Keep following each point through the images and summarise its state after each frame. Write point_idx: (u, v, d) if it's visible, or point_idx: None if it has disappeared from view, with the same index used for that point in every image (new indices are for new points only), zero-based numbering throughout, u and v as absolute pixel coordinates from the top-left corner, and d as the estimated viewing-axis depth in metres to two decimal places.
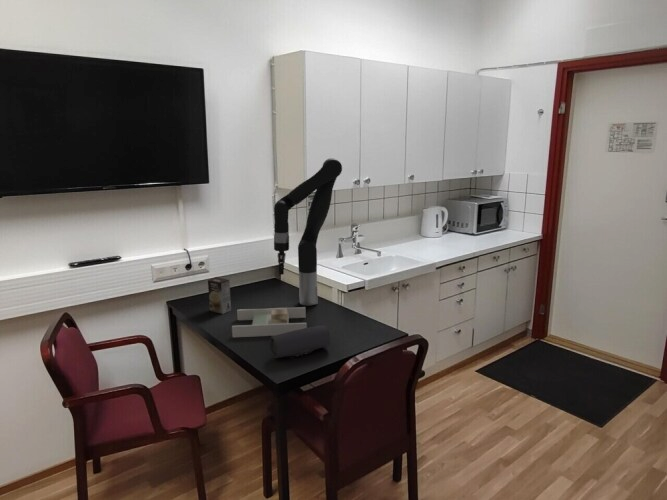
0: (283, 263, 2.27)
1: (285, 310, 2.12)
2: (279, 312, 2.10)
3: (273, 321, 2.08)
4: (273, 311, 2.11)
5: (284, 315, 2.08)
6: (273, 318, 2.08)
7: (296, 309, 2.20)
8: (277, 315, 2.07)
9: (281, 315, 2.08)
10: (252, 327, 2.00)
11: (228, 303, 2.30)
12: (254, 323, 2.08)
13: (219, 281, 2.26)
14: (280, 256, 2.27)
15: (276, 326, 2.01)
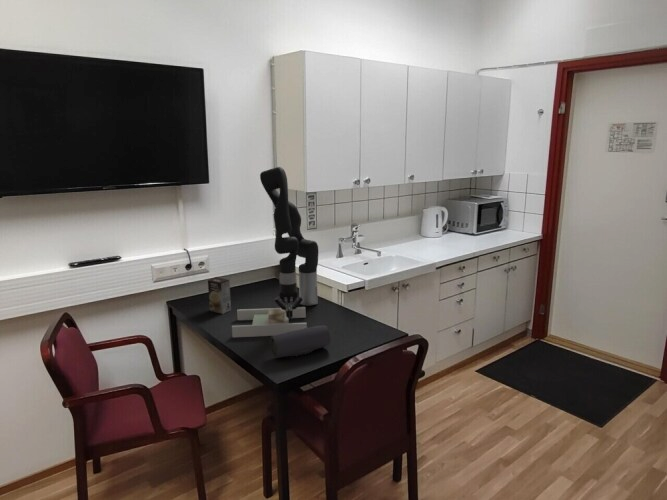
0: None
1: (282, 310, 2.12)
2: (277, 312, 2.09)
3: (270, 321, 2.08)
4: (270, 311, 2.11)
5: (281, 315, 2.07)
6: (270, 318, 2.08)
7: (296, 309, 2.20)
8: (274, 315, 2.07)
9: (278, 315, 2.07)
10: (252, 327, 2.00)
11: (228, 303, 2.30)
12: (254, 323, 2.08)
13: (219, 281, 2.26)
14: (302, 299, 2.09)
15: (276, 326, 2.01)
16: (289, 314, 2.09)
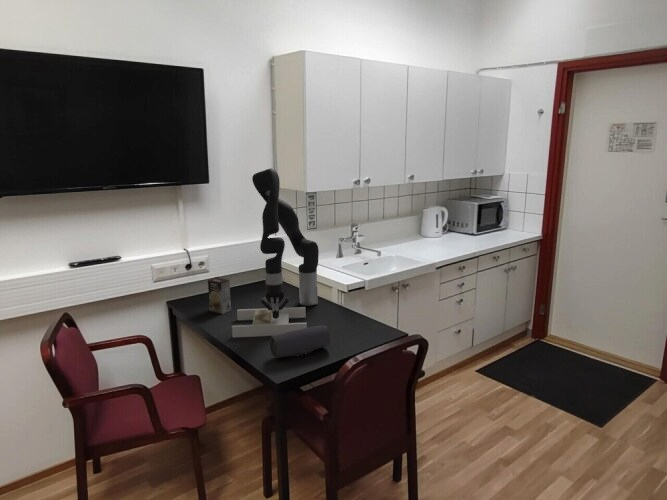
0: None
1: (269, 311, 2.11)
2: (263, 312, 2.09)
3: (256, 321, 2.08)
4: (257, 311, 2.10)
5: (267, 315, 2.07)
6: (256, 319, 2.07)
7: (296, 309, 2.20)
8: (260, 315, 2.07)
9: (264, 316, 2.07)
10: (252, 327, 2.00)
11: (228, 303, 2.30)
12: (254, 323, 2.08)
13: (219, 281, 2.26)
14: None
15: (276, 326, 2.01)
16: (275, 315, 2.09)
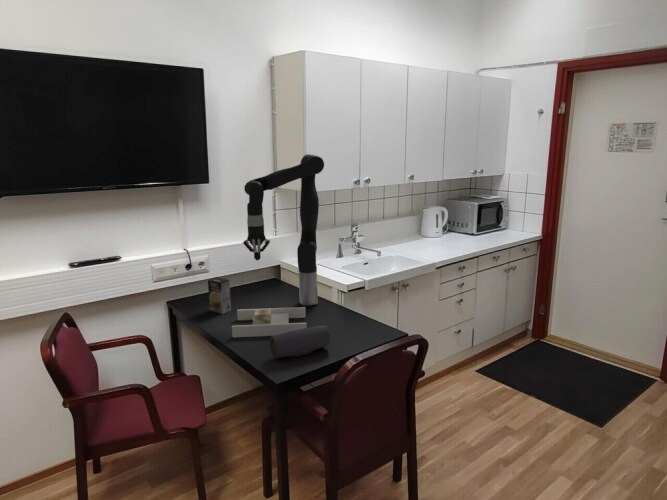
0: None
1: (269, 311, 2.11)
2: (263, 312, 2.09)
3: (256, 321, 2.08)
4: (257, 311, 2.10)
5: (267, 315, 2.07)
6: (256, 319, 2.07)
7: (296, 309, 2.20)
8: (260, 315, 2.07)
9: (264, 316, 2.07)
10: (252, 327, 2.00)
11: (228, 303, 2.30)
12: (254, 323, 2.08)
13: (219, 281, 2.26)
14: (269, 242, 2.19)
15: (276, 326, 2.01)
16: (257, 256, 2.19)
